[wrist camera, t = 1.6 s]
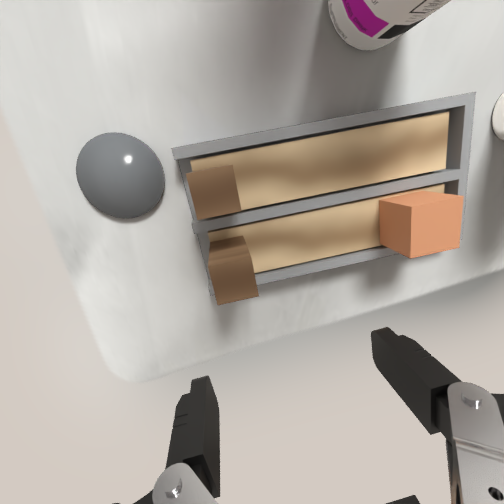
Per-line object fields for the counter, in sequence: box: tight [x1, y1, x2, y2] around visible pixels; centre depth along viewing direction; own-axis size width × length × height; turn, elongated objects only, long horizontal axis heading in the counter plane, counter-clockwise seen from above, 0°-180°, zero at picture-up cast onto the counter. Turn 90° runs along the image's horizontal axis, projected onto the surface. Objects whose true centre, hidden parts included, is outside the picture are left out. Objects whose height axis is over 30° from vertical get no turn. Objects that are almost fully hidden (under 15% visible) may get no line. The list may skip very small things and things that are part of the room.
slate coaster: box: [76, 133, 165, 218], centre depth 26 cm, size 8×8×1 cm
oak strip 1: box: [186, 112, 449, 220], centre depth 24 cm, size 6×26×8 cm, turn 100°
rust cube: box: [379, 191, 464, 259], centre depth 27 cm, size 5×5×5 cm
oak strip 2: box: [208, 183, 445, 305], centre depth 26 cm, size 6×26×9 cm, turn 100°
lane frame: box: [172, 92, 476, 296], centre depth 28 cm, size 15×30×2 cm, turn 100°
